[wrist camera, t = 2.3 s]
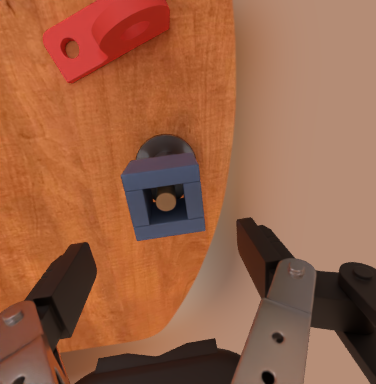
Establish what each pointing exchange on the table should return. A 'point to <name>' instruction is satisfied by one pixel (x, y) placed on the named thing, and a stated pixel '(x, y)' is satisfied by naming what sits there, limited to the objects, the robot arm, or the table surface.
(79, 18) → the bracket
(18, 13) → the table surface
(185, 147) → the dowel stand
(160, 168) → the holed block
